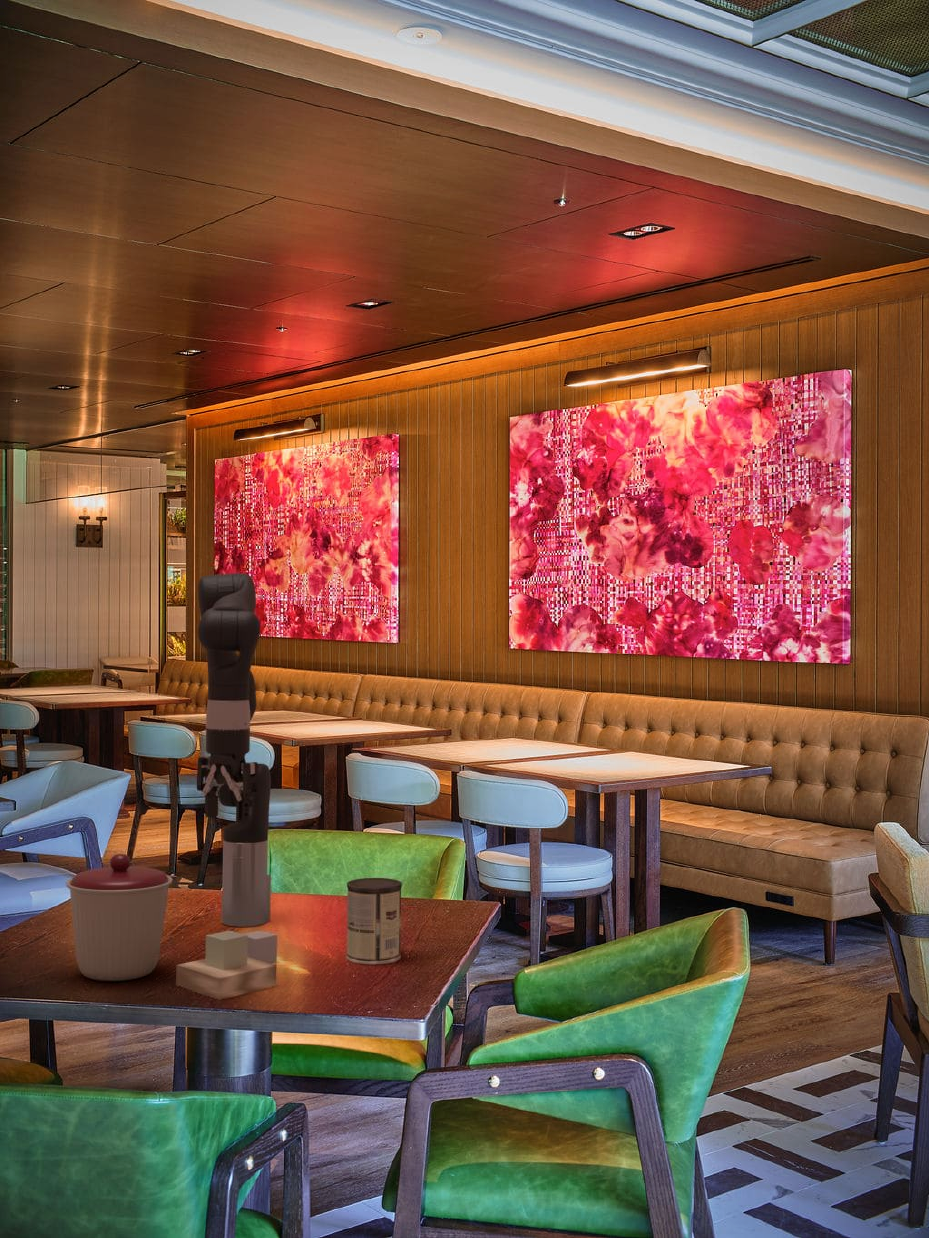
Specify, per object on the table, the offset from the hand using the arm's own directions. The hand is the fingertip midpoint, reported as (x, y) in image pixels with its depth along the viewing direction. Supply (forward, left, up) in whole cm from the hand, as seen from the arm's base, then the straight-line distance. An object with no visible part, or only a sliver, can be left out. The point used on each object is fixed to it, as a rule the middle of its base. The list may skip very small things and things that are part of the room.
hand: (226, 819), depth 218 cm
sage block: (+1, +2, -25) cm, 25 cm away
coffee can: (-30, +6, -28) cm, 42 cm away
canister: (+10, -17, -28) cm, 34 cm away
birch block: (+1, +2, -29) cm, 29 cm away
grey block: (-13, -7, -28) cm, 32 cm away
